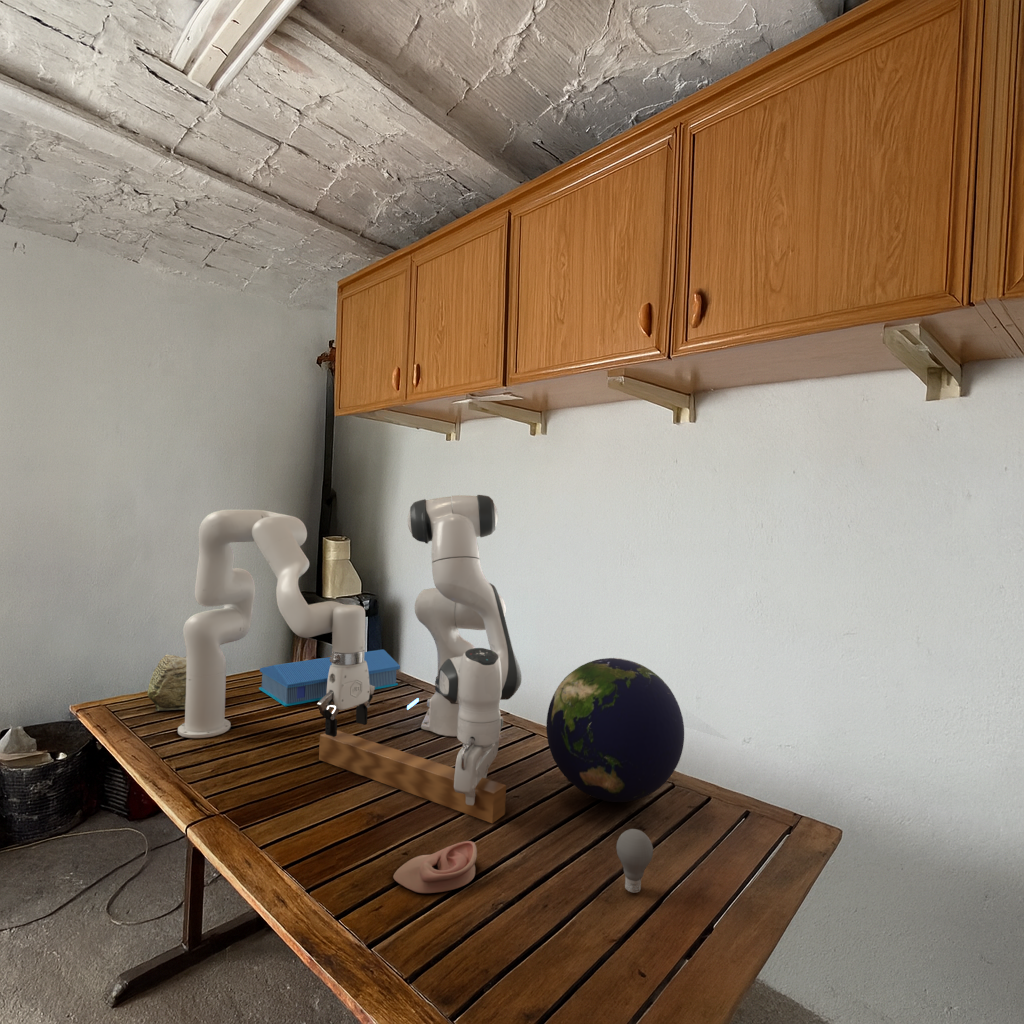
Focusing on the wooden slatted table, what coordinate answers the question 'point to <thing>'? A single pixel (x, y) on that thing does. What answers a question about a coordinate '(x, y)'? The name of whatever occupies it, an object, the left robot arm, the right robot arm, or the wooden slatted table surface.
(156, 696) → the fossil
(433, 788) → the bar
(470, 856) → the anatomical model
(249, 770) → the wooden slatted table surface
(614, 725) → the globe
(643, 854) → the light bulb
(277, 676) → the model building
